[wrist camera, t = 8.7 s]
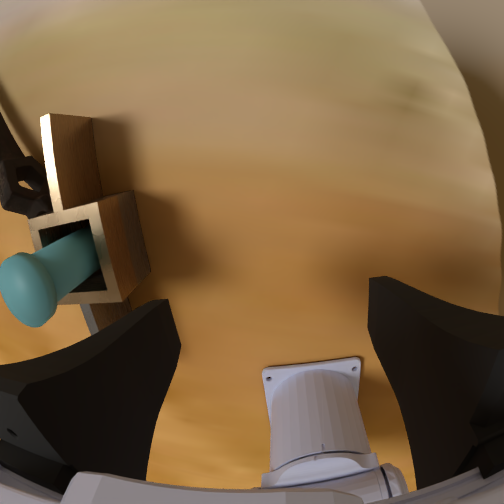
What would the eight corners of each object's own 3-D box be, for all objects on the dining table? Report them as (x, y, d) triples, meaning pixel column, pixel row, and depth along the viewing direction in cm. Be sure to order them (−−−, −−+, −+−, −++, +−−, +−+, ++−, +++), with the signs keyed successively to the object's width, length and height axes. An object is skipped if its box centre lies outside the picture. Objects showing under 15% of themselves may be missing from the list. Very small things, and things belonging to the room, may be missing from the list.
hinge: (170, 340, 24) (150, 379, 19) (108, 340, 24) (82, 374, 20) (121, 107, 18) (82, 98, 14) (57, 130, 19) (14, 131, 14)
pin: (133, 260, 22) (58, 328, 12) (92, 264, 22) (13, 325, 13) (122, 210, 21) (33, 254, 11) (81, 217, 21) (-10, 260, 12)
